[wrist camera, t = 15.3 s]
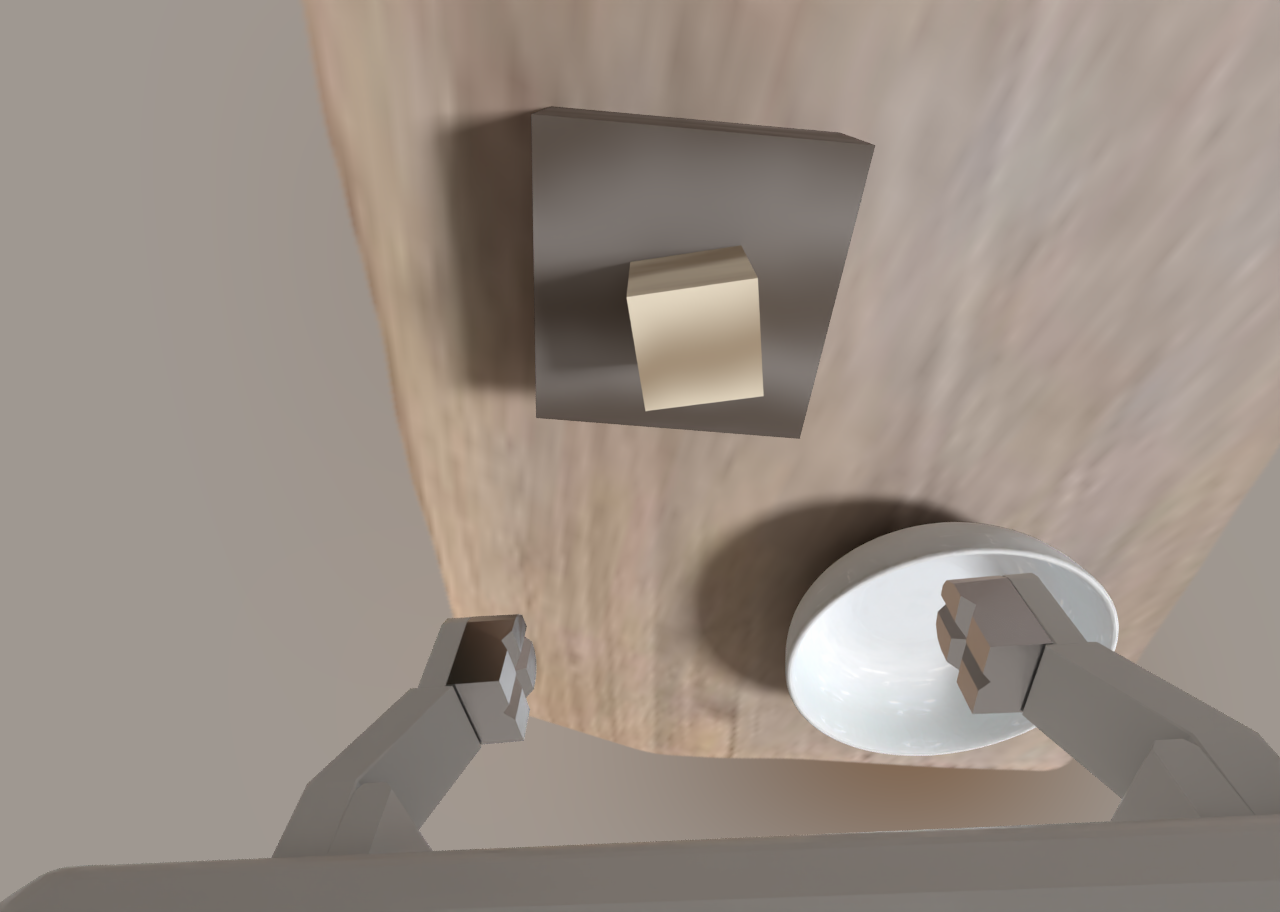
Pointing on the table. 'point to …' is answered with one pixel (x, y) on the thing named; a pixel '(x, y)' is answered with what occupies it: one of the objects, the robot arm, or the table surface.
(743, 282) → the birch cube
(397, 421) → the table surface
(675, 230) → the charcoal riser block
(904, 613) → the serving bowl
